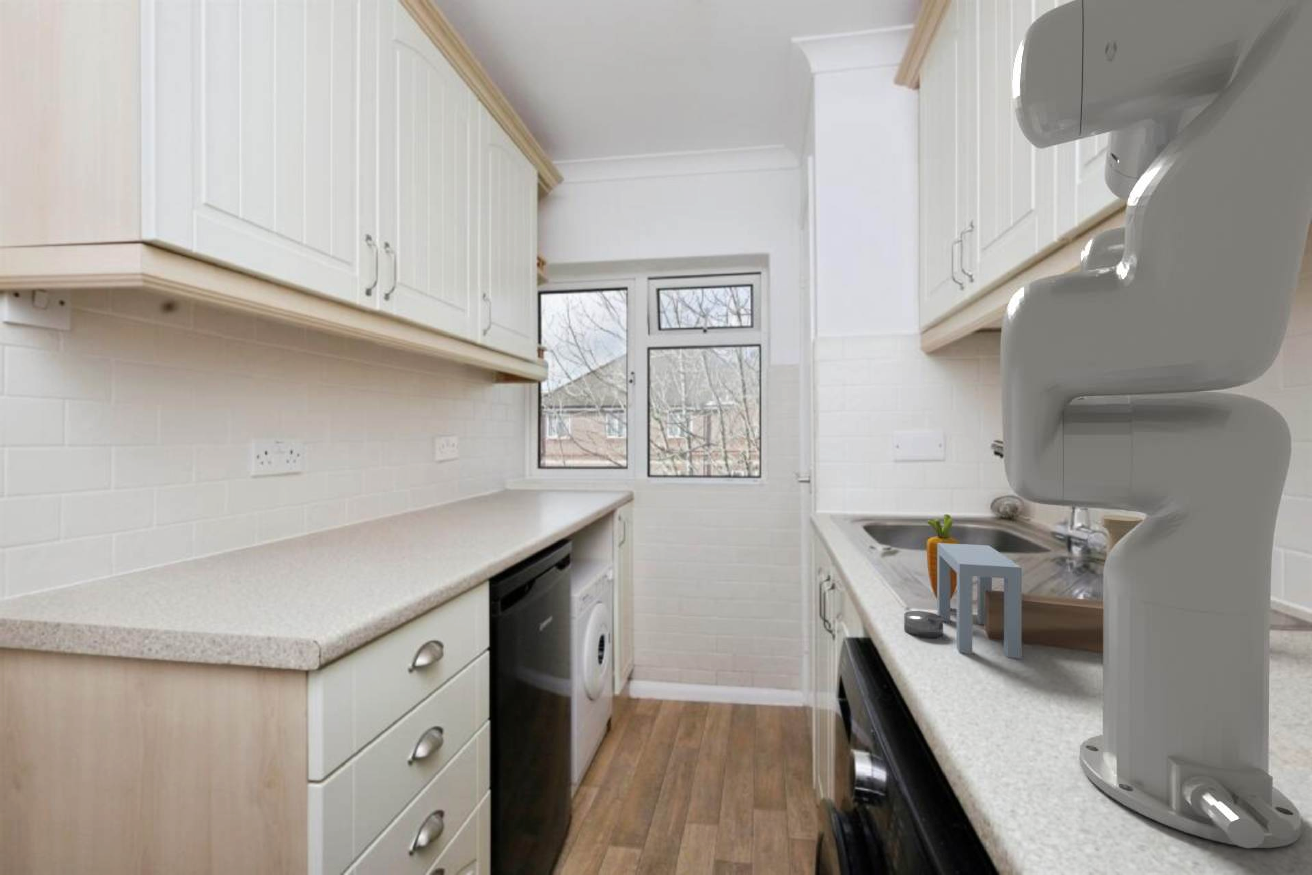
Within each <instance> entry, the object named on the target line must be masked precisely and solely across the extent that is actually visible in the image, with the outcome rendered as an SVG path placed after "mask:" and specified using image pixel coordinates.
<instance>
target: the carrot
mask: <svg viewBox="0 0 1312 875" xmlns="http://www.w3.org/2000/svg"><path fill="white" fill-rule="evenodd" d="M926 523H927V524H928V525H930V526H931V527H932V528H933V530H934V531H935V533H936V535H937V536H932V537H930V538H929V539H927V540H926V562H927V563H926V564H927V572H928V577H929V581H930V587H931V589H932V591H933V594H934V596H935V598H936V599H937V543H948V544H961V543H960V542H959V541H958V540H956V539H955V538H954V537H950V536H949V534H950V530H951V527H952V525H953V524H954V521H953V519H951V516H950V514H946V513H945V514H944V515H943V526H942V525H941V524H942V523H941V522H940V520H939V519H938V518H936V519H934V521H933V520H931V519H929V520H927V522H926ZM956 591H957V572H956V571H955V570H954V569H953V568H952V567H951V566H950V601H951V600H952V598H953V597H954V594H955V592H956Z"/></svg>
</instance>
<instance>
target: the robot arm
mask: <svg viewBox="0 0 1312 875" xmlns="http://www.w3.org/2000/svg"><path fill="white" fill-rule="evenodd" d="M1012 99H1013V108H1014V113H1015V117H1016V120H1017V123H1018V126H1019V128H1020V130H1021V132H1022V134H1023V136H1024V137H1025V138H1026V139H1027V141H1029V143H1030V144H1032V146H1034V147H1036V148H1037V149H1047V148H1049V147H1053V146H1057V145H1062V144H1066V143H1069V142H1074V141H1078V140H1082V139H1086V138H1091V137H1095V136H1098V135H1102V134H1106V133H1107V134H1108V137H1107V146H1106V147H1107V148H1106V156H1105V165H1104V180H1105V184H1106V185H1107V188H1108V189H1109V190H1110V192H1111V193H1112V194H1113V195H1114V196H1116V198H1119V199H1120V200H1122V201H1124V202H1126V209H1125V226H1120V227H1116V228H1112V229H1108V230H1107V229H1106V230H1105V231H1102V232H1099V233H1098V234H1096V235H1094V236H1093V237H1092V238H1090V239H1089V240H1088V241H1087V244H1086V245H1085V247H1084V248H1083V249H1082V251H1081V253H1080V256H1079V257H1080V258H1079V271H1074V272H1067V273H1066V272H1065V273H1060V274H1056V275H1055V274H1054V275H1050V276H1047V277H1042V278H1039V279H1036V280H1033V281H1030V282H1029V283H1026V284H1025V285H1024V286H1022V287H1020V289H1018V290H1017V291H1016V292H1015V294H1014V295H1013V296H1012V297H1011V298H1010V301H1009V302H1008V305H1007V307H1006V308H1005V312H1004V314H1003V318H1002V319H1003V320H1002V325H1001V333H1000V352H999V353H1000V354H999V355H1000V360H999V362H1000V389H1001V390H1000V391H1001V392H1000V393H1001V397H1000V398H1001V420H1002V421H1001V422H1002V423H1001V424H1002V448H1003V463H1004V464H1003V465H1004V470H1005V471H1004V472H1005V476H1006V479H1007V482H1008V484H1009V487H1010V488H1011V490H1012V491H1013V492H1014V493H1015V494H1016V495H1017V497H1019V498H1021V499H1023V500H1024V501H1026V502H1031V503H1034V504H1040V505H1048V506H1057V507H1058V506H1059V507H1061V506H1062V507H1072V508H1073V507H1074V508H1087V509H1088V508H1089V509H1101V510H1102V509H1105V510H1106V509H1107V510H1119V511H1121V510H1123V511H1127V512H1134V513H1135V512H1137V513H1141V514H1145V515H1146V516H1145V517H1144V518H1143V521H1142V522H1140V523H1139V524H1138V525H1137V526H1136V527H1135V528H1133V529H1132V530H1131V531H1130V532H1128V533H1127V534H1126V535H1125V536H1124V537H1123V538H1121V539H1120V540H1119V541H1118V542H1117V543H1116V544H1115V545H1114V547H1113V548H1112V549H1111V551H1110V552H1109V554H1108V556H1107V555H1106V559H1105V561H1104V566H1103V585H1102V586H1103V587H1102V588H1103V593H1102V594H1103V597H1102V598H1103V599H1102V601H1103V653H1102V734H1100V735H1095V736H1092V737H1090V738H1088V739H1086V740H1084V741H1083V742H1082V743H1081V745H1080V746H1079V764H1080V767H1081V769H1082V771H1083V772H1084V774H1085V775H1086V777H1087V778H1088V779H1089V780H1090V781H1091V782H1092V783H1093V784H1095V786H1096V787H1098V789H1100V790H1101V791H1103V793H1105V795H1108V796H1109V797H1111V798H1112V799H1114V800H1115V801H1117V802H1119V803H1120V804H1122V805H1123V806H1126V807H1127V808H1129V809H1131V810H1132V811H1134V812H1136V813H1139V814H1140V815H1141V816H1144V817H1146V818H1149V819H1151V820H1153V821H1155V822H1158V823H1159V824H1162V825H1164V826H1167V827H1170V828H1172V829H1174V830H1177V831H1180V832H1183V833H1186V834H1190V835H1192V836H1196V837H1199V838H1202V839H1206V840H1210V841H1214V842H1219V843H1222V844H1226V845H1230V846H1231V845H1232V846H1238V847H1241V848H1244V849H1253V848H1257V849H1259V848H1262V849H1272V848H1280V847H1285V846H1290V844H1293V843H1295V842H1297V841H1298V839H1299V838H1300V836H1301V835H1302V833H1301V832H1302V817H1301V815H1300V811H1299V810H1298V809H1297V807H1296V806H1295V804H1294V803H1293V802H1292V801H1291V799H1289V798H1288V797H1287V796H1286V795H1285V794H1283V793H1282V792H1281V791H1280V790H1279V789H1278V788H1276V787H1274V778H1273V776H1272V775H1270V774H1269V768H1270V767H1269V766H1270V765H1269V763H1270V762H1269V760H1270V759H1269V758H1270V757H1269V755H1270V754H1269V750H1270V749H1269V747H1270V742H1269V741H1270V643H1271V641H1270V637H1271V636H1270V633H1271V632H1270V631H1271V630H1270V628H1271V627H1270V626H1271V624H1270V623H1271V614H1270V613H1271V598H1272V597H1271V596H1272V595H1271V594H1272V593H1271V592H1272V562H1273V561H1272V560H1273V558H1272V557H1273V549H1274V548H1273V547H1274V538H1275V530H1276V525H1277V519H1278V512H1279V509H1280V504H1281V499H1282V496H1283V492H1284V488H1285V483H1286V479H1287V476H1288V472H1289V468H1290V462H1291V456H1292V437H1291V431H1290V427H1289V425H1288V422H1287V421H1286V419H1285V418H1284V417H1283V415H1282V414H1281V413H1280V412H1279V411H1278V410H1277V409H1275V408H1274V407H1273V406H1272V405H1269V404H1268V403H1267V402H1264V401H1263V400H1260V399H1257V398H1253V397H1251V396H1246V395H1243V394H1242V395H1241V394H1237V393H1230V392H1229V393H1228V392H1219V390H1221V391H1222V390H1227V389H1231V388H1237V387H1241V386H1244V385H1248V384H1250V383H1252V382H1254V381H1256V380H1258V379H1259V378H1261V377H1263V375H1265V373H1266V372H1267V371H1268V370H1269V369H1270V368H1271V367H1272V366H1273V365H1274V362H1275V361H1276V359H1277V357H1278V356H1279V354H1280V350H1281V348H1282V345H1283V342H1284V340H1285V337H1286V332H1287V329H1288V326H1289V322H1290V318H1291V313H1292V309H1293V304H1294V299H1295V295H1296V290H1297V285H1298V283H1299V282H1298V281H1299V276H1300V272H1301V267H1302V262H1303V257H1304V252H1305V248H1306V244H1307V239H1308V233H1309V228H1310V224H1311V220H1312V0H1071V1H1069V2H1067V3H1064V4H1061V5H1059V6H1057V7H1055V8H1053V9H1050V10H1049V11H1046V12H1045V13H1043V14H1042V15H1041V16H1039V17H1038V18H1037V19H1035V20H1034V22H1032V23H1031V24H1030V26H1029V28H1027V30H1026V32H1025V33H1024V35H1023V37H1022V40H1021V42H1020V44H1019V47H1018V50H1017V54H1016V57H1015V61H1014V67H1013V75H1012Z"/></svg>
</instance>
